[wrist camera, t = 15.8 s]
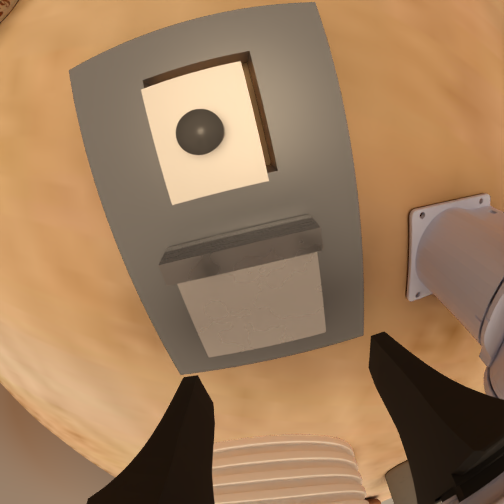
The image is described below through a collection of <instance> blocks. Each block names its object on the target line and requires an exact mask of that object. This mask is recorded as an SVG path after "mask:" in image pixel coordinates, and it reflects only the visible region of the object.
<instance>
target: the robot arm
mask: <svg viewBox="0 0 504 504" xmlns="http://www.w3.org/2000/svg"><path fill="white" fill-rule="evenodd" d="M479 200H480V201H479ZM421 213H422V216H421V217H420V214H421ZM409 222H410V239H409V270H408V285H407V299H408V300H409V301H414V300H417V299H420V298H422V297H425V296H428V295H431V294H434V295H435V296H436V297H437V298H438V299H439V300H440V301H441V302H442V303H443V304H444V305H445V306H446V307H447V308H448V309H449V311H450V312H451V313H452V314H453V315H454V316H455V317H456V318H457V319H458V320H459V321H460V322H461V323H462V324H463V325H464V327H465V328H466V329H467V330H468V331H469V332H470V333H471V334H472V335H473V337H474V338H475V339H476V340H477V341H478V342H479V343H480V345H481V346H482V349H481V352H480V355H479V357H480V358H481V360H482V361H483V362H484V363H485V365H486V366H487V367H486V370H485V373H484V388H485V392H486V394H483V393H480V392H478V391H475V390H473V389H470V388H468V387H465V386H463V385H461V384H459V383H457V382H455V381H453V380H451V379H449V378H448V377H446V376H444V375H443V374H441V373H439V372H438V371H436V370H435V369H433V368H432V367H430V366H429V365H427V364H426V363H424V362H423V361H421V360H420V359H419V358H417V357H416V356H415V355H413V354H412V353H411V352H409V351H408V350H407V349H405V348H404V347H403V346H402V345H400V344H399V343H398V342H397V341H395V340H394V339H393V338H392V337H391V336H389V335H388V334H387V333H385V332H382V333H379V334H376V335H373V336H371V344H370V358H369V370H370V373H371V375H372V378H373V381H374V384H375V386H376V388H377V390H378V392H379V394H380V396H381V398H382V400H383V402H384V404H385V406H386V408H387V410H388V412H389V414H390V416H391V418H392V420H393V422H394V424H395V425H396V428H397V430H398V432H399V435H400V438H401V441H402V444H403V447H404V449H405V453H406V456H407V459H408V463H409V466H410V470H411V474H412V478H413V482H414V487H415V493H416V498H417V504H437V503H438V502H440V501H442V503H440V504H504V212H502V211H500V210H498V209H496V208H494V207H492V206H490V195H489V194H486V193H484V194H480V195H475V196H470V197H466V198H461V199H457V200H452V201H448V202H443V203H439V204H434V205H430V206H425V207H421V208H416V209H413V210H412V211H411V212H410V216H409ZM214 427H215V421H214V406H213V402H212V400H211V398H210V396H209V395H208V393H207V391H206V389H205V388H204V386H203V384H202V382H201V381H200V379H199V377H198V375H197V376H189V377H184V378H183V379H182V381H181V383H180V385H179V387H178V389H177V391H176V393H175V395H174V397H173V399H172V401H171V403H170V405H169V407H168V409H167V410H166V412H165V414H164V416H163V418H162V419H161V421H160V423H159V424H158V426H157V428H156V429H155V431H154V432H153V434H152V436H151V437H150V439H149V440H148V441H147V443H146V444H145V446H144V447H143V448H142V449H141V451H140V452H139V453H138V455H137V456H136V457H135V458H134V459H133V460H132V462H131V463H130V464H129V465H128V466H127V467H126V468H125V469H124V470H123V471H122V472H121V473H120V474H119V475H118V476H117V477H116V478H115V479H114V480H112V481H111V482H110V483H109V484H108V485H107V486H106V487H104V488H103V489H101V490H100V491H99V492H97V493H96V494H94V495H93V496H91V497H90V498H88V501H87V504H215V501H214V492H213V480H212V461H213V445H214Z"/></svg>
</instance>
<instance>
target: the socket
mask: <svg viewBox="0 0 504 504" xmlns="http://www.w3.org/2000/svg"><path fill="white" fill-rule="evenodd" d="M239 61H241V63H245V62H247V63H248V67H249V71H250V75H251V79H252V83H253V87H254V91H255V95H256V99H257V103H258V107H259V112H260V116H261V120H262V124H263V129H264V133H265V137H266V142H267V146H268V151H269V155H270V160H271V164H272V165H270V166H266V169H267V174H268V178H269V181H266V182H262V183H258V184H253V185H249V186H245V187H240V188H236V189H232V190H228V191H224V192H220V193H216V194H212V195H208V196H204V197H200V198H197V199H193V200H189V201H186V202H182V203H178V204H175V205H172V203H171V200H170V197H169V193H168V190H167V187H166V183H165V180H164V176H163V173H162V169H161V166H160V162H159V159H158V155H157V152H156V148H155V144H154V140H153V137H152V133H151V129H150V125H149V121H148V117H147V113H146V109H145V105H144V101H143V96H142V92H141V89H144V88H147V87H149V86H152V85H155V84H158V83H161V82H164V81H167V80H170V79H173V78H176V77H179V76H183V75H186V74H189V73H193V72H197V71H200V70H204V69H208V68H212V67H216V66H220V65H225V64H229V63H234V62H239ZM69 74H70V81H71V87H72V92H73V98H74V103H75V108H76V112H77V117H78V122H79V126H80V130H81V134H82V138H83V142H84V146H85V150H86V154H87V157H88V161H89V164H90V168H91V171H92V175H93V178H94V181H95V184H96V188H97V191H98V194H99V197H100V200H101V203H102V206H103V209H104V211H105V214H106V217H107V220H108V223H109V225H110V228H111V231H112V233H113V236H114V239H115V241H116V244H117V246H118V249H119V251H120V254H121V256H122V259H123V261H124V263H125V266H126V268H127V270H128V273H129V275H130V277H131V279H132V282H133V284H134V286H135V288H136V291H137V293H138V295H139V297H140V299H141V301H142V303H143V305H144V307H145V310H146V312H147V314H148V316H149V318H150V320H151V322H152V324H153V326H154V328H155V329H156V331H157V333H158V335H159V337H160V339H161V341H162V343H163V345H164V346H165V348H166V350H167V352H168V354H169V356H170V357H171V359H172V361H173V363H174V364H175V366H176V368H177V370H178V371H179V373H180V375H183V374H191V373H198V372H205V371H212V370H219V369H225V368H231V367H236V366H242V365H247V364H252V363H257V362H262V361H267V360H272V359H277V358H281V357H286V356H290V355H294V354H298V353H302V352H306V351H310V350H314V349H318V348H322V347H326V346H329V345H333V344H336V343H340V342H343V341H347V340H350V339H353V338H357V337H360V336H363V334H364V279H363V254H362V237H361V224H360V213H359V202H358V193H357V185H356V177H355V169H354V162H353V155H352V149H351V143H350V137H349V131H348V126H347V120H346V115H345V110H344V105H343V100H342V96H341V91H340V87H339V83H338V78H337V74H336V70H335V66H334V62H333V59H332V55H331V51H330V48H329V44H328V41H327V37H326V34H325V31H324V28H323V24H322V21H321V18H320V15H319V12H318V9H317V6H316V3H315V2H307V3H288V4H276V5H266V6H258V7H251V8H244V9H238V10H233V11H227V12H222V13H217V14H213V15H208V16H204V17H200V18H196V19H192V20H189V21H185V22H182V23H178V24H175V25H172V26H168V27H165V28H162V29H159V30H156V31H154V32H151V33H148V34H145V35H143V36H140V37H137V38H135V39H132V40H130V41H127V42H125V43H123V44H120V45H118V46H116V47H114V48H111V49H109V50H107V51H105V52H103V53H101V54H99V55H97V56H95V57H93V58H91V59H89V60H87V61H85V62H83V63H81V64H79V65H77V66H76V67H74V68H72V69H70V70H69ZM307 214H310V216H311V217H312V218H313V219H314V220H315V221H316V222H317V224H318V225H319V226H320V227H321V233H322V241H323V248H324V250H322V251H318V252H317V255H318V262H319V270H320V278H321V287H322V295H323V305H324V315H325V325H326V332H325V333H321V334H318V335H314V336H310V337H306V338H302V339H298V340H294V341H289V342H285V343H281V344H276V345H272V346H267V347H263V348H258V349H253V350H248V351H243V352H238V353H232V354H227V355H221V356H215V357H208V355H207V353H206V350H205V348H204V346H203V344H202V342H201V339H200V337H199V335H198V333H197V330H196V328H195V326H194V323H193V321H192V319H191V316H190V314H189V312H188V309H187V307H186V305H185V302H184V300H183V297H182V295H181V292H180V290H179V287H178V285H177V284H174V285H169V286H166V283H165V281H164V279H163V276H162V274H161V271H160V269H159V266H158V265H159V263H160V261H161V259H162V257H163V255H164V253H165V251H166V249H167V248H168V247H172V246H176V245H180V244H184V243H188V242H192V241H196V240H200V239H204V238H208V237H212V236H217V235H221V234H225V233H229V232H233V231H237V230H242V229H246V228H250V227H254V226H259V225H263V224H267V223H272V222H276V221H280V220H285V219H289V218H294V217H298V216H303V215H307Z"/></svg>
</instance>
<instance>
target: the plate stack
mask: <svg viewBox="0 0 504 504" xmlns="http://www.w3.org/2000/svg"><path fill="white" fill-rule="evenodd" d="M212 480H213V492H214V501H215V504H369V502H368V501H367V500H364V499H365V498H366V491H365V488H364V487H363V486H362V478H361V475H360V473H359V472H358V465H357V462H356V460H355V458H354V452H353V449H352V447H351V445H350V444H349V443H348V442H346V441H344V440H342V439H339V438H336V437H331V436H325V435H313V434H285V435H269V436H258V437H249V438H241V439H234V440H228V441H223V442H218V443H214V445H213V461H212Z"/></svg>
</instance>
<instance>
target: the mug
mask: <svg viewBox="0 0 504 504" xmlns="http://www.w3.org/2000/svg"><path fill="white" fill-rule="evenodd" d="M17 1H18V0H0V22H1V21H2V20H3V19H4V18H5V17H6V16H7V15H8V14H9V13H10V11H11V10H12V9H13V7H14V6H15V4H16V3H17Z"/></svg>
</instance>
